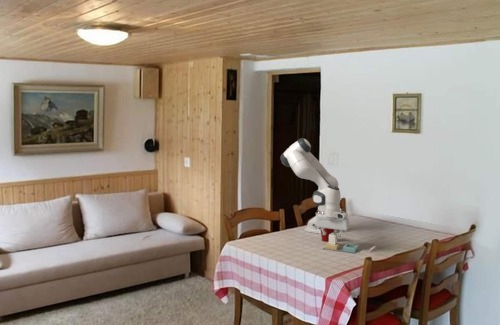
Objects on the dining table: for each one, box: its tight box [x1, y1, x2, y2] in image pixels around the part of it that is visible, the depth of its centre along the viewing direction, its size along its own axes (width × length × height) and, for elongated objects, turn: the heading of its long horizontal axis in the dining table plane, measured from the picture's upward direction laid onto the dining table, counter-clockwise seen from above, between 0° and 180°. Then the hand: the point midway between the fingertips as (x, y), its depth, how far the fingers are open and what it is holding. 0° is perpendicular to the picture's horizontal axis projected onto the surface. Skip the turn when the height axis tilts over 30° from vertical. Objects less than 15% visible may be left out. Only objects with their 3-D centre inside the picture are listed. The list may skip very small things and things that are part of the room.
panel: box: [322, 242, 361, 255], centre depth 307 cm, size 20×12×4 cm, turn 62°
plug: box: [329, 232, 338, 245], centre depth 309 cm, size 4×4×9 cm
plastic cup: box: [320, 227, 334, 243], centre depth 325 cm, size 11×11×12 cm
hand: (331, 235), depth 309 cm, fingers open, 8 cm apart
